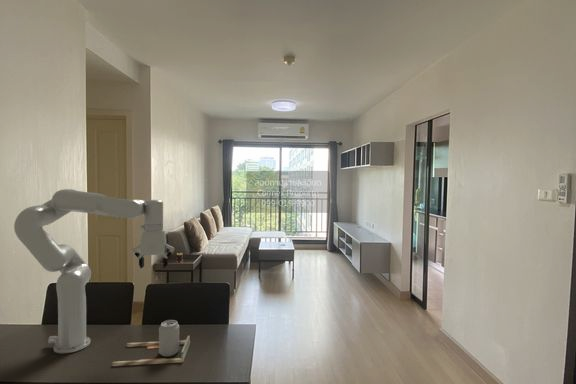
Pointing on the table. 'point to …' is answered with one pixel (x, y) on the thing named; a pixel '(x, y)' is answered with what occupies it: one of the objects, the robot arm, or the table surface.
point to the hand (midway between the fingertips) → (153, 267)
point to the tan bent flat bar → (154, 361)
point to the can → (168, 338)
